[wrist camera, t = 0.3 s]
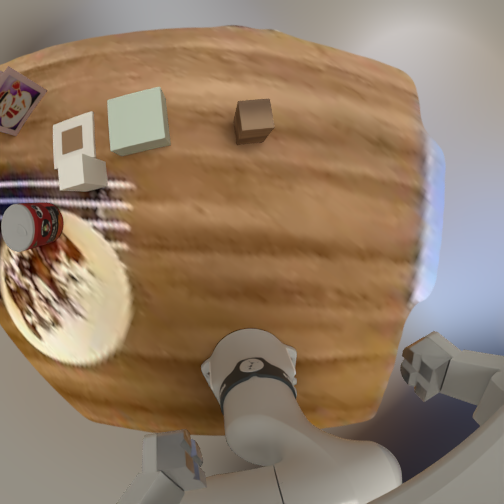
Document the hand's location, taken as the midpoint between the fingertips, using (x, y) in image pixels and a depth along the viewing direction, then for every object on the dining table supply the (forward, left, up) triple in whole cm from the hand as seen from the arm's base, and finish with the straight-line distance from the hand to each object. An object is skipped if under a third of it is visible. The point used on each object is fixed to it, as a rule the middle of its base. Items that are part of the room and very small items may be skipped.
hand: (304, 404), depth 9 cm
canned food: (+10, +35, -42) cm, 55 cm away
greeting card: (+36, +40, -42) cm, 68 cm away
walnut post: (+19, -5, -42) cm, 46 cm away
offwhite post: (+16, +23, -42) cm, 50 cm away
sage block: (+23, +13, -42) cm, 49 cm away
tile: (+24, +27, -42) cm, 55 cm away
